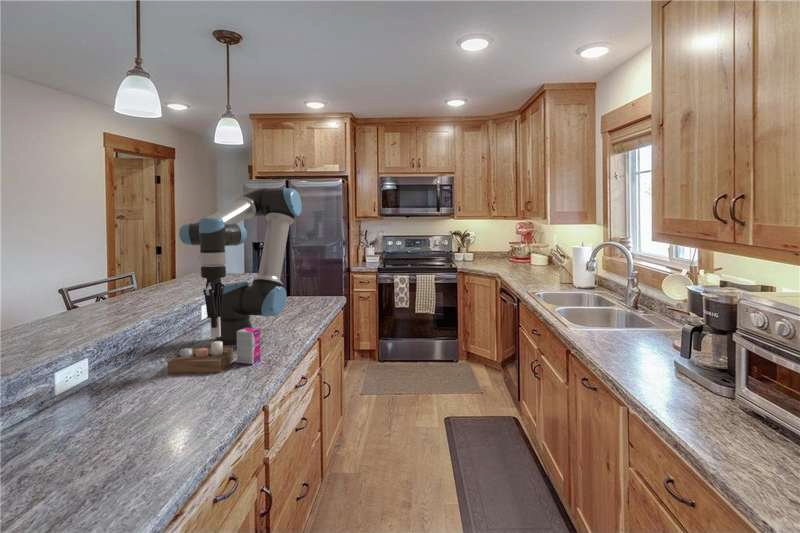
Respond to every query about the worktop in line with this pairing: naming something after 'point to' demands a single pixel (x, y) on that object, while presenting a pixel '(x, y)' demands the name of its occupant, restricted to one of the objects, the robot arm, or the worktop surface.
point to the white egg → (217, 348)
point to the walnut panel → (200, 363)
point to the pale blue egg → (186, 352)
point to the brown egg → (201, 352)
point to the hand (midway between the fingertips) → (216, 336)
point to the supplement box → (248, 346)
